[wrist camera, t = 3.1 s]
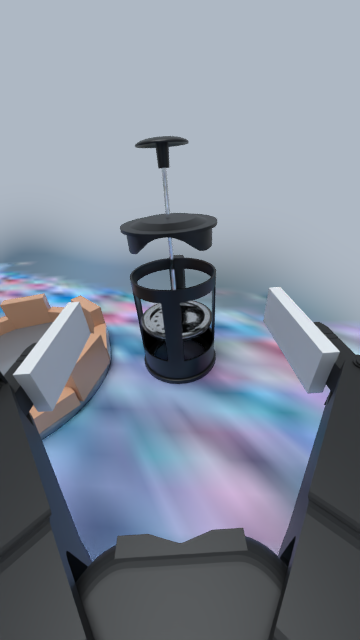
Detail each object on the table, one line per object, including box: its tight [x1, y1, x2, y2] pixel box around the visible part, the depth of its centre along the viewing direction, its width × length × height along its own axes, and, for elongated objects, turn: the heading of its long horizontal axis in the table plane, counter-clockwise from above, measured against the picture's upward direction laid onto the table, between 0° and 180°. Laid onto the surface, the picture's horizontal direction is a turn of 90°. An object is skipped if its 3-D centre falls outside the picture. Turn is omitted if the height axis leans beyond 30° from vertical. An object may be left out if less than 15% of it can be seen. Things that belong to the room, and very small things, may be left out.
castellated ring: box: [0, 294, 111, 440], centre depth 28 cm, size 24×24×6 cm
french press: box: [120, 136, 217, 384], centre depth 24 cm, size 12×9×23 cm
